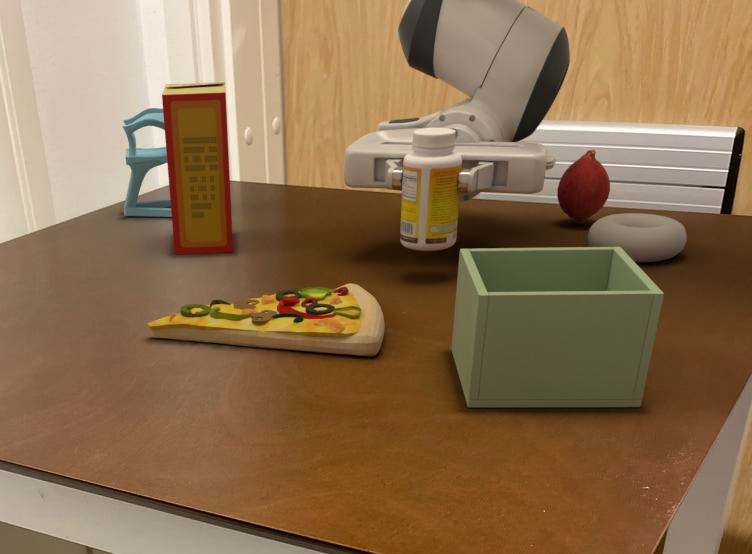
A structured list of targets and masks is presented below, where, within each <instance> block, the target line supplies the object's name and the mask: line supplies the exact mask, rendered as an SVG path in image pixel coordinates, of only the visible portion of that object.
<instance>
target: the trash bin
mask: <svg viewBox="0 0 752 554" xmlns="http://www.w3.org/2000/svg"><path fill="white" fill-rule="evenodd" d="M458 255H459V256H458V265H457V266H458V267H457V279H456V291H455V302H454V315H453V324H452V325H453V326H452V337H451V353H452V356H453V360H454V364H455V367H456V371H457V375H458V378H459V382H460V385H461V388H462V391H463V395H464V400H465V402H466V406H467V408H468V409H470V408H472V409H475V408H476V409H477V408H478V409H479V408H480V409H481V408H483V409H485V408H486V409H487V408H488V409H489V408H493V409H494V408H499V409H500V408H505V409H506V408H508V409H509V408H512V409H513V408H515V409H516V408H519V409H521V408H641V406H642V402H643V401H642V400H643V397H644V392H645V388H646V382H647V378H648V374H649V373H648V372H649V369H650V363H651V358H652V353H653V348H654V343H655V339H656V336H657V335H656V334H657V329H658V325H659V321H660V320H659V319H660V316H661V310H662V306H663V302H664V301H663V300H664V296H665V293H664V292H663V291H662V289H660V287H659V286H658V285H657V284H656V283H655V282H654V281H653V280H652V279H651V278H650V277H649V276H648V274H646V272H645V271H643V269H642V268H641V267H640V266H639V265H638V264H637V262H634V261H633V260H632V259H631V258H630V257H629V256H628V255H627V253H626V252H625V251H624V250H623V249H622V248H621V247H589V246H575V247H571V246H570V247H495V248H491V247H490V248H489V247H488V248H487V247H485V248H484V247H483V248H460V249H459V254H458Z"/></svg>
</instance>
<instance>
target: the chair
mask: <svg viewBox="0 0 752 554" xmlns="http://www.w3.org/2000/svg"><path fill="white" fill-rule="evenodd" d="M122 122H123V123H124V125H122V128H123V131H124V133H125V135H126V138H127V143H128V148H126V149H125V165H126V166H129V168H130V177H129V182H128V187H127V192H126V196H125V199H124V205H123V207H124V209H123V212H124V213H123V216H124V217H159V218H161V217H162V218H163V217H164V218H172V213H171V201H170V198H163V199H154V200H146V201H138V198H139V195H140V191H141V187H142V185H143V182H144V179H145V177H146V175H147V173H148V172H149V171H150V170H152V169H155V168H157V167H159V166H162V165H165V164H167V152H166V146H162V147H154V148H153V147H152V148H151V147H150V148H143V147H141V148H139V147H137V140H136V135H135V133H136V131H138V130H140V129H143V128H144V127H155V128H159V129H161V130H163V131H165V127H164V115H163V108H160V107H150V108H149V107H148V108H146V109H144V110H142V111H140V112H139V113H137V114H136V115H134V116H132V117H130V118H127V119H123V120H122ZM134 132H135V133H134Z"/></svg>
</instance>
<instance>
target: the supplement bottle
mask: <svg viewBox="0 0 752 554" xmlns="http://www.w3.org/2000/svg"><path fill="white" fill-rule="evenodd" d="M455 134H456V132H455V130H453V129H448V128H422V129H417V130H415V131H414V132H413V142H412V145H413V146H412V149H413V150H414V152H411V153H408V154H407V155H406V156H405V157H404V160H403V180H402V191H401V207H400V208H401V209H400V230H399V231H400V235H399V238H400V239H399V240H400V244H401V245H402V246H403V247H404V248H406V249H410V250H414V251H423V252H434V251H442V250H446V249H449V248H452V246H454V245H455V243H456V241H457V237H458V236H457V235H458V223H459V210H460V209H459V207H460V203H459V197H460V192H458V184H459V183H460V182H459V181H458V176H459V172H460V171H461V169H462V157H461V155H460V154H459V153H457V152H455V151H452V150H453V149H454V148H455Z"/></svg>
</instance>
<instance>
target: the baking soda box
mask: <svg viewBox="0 0 752 554" xmlns="http://www.w3.org/2000/svg"><path fill="white" fill-rule="evenodd" d="M226 93H227V91H226V82H224V81H223V82H220V81H219V82H198V83H197V82H196V83H195V82H193V83H169V84H168V83H166V84H165V85H164V88H163V91H162V94H161V102H162V109H163V115H164V127H165V130H164V138H165V147H166V152H167V163H166V164H167V174H168V186H169V187H168V188H169V199H170V201H171V207H170V208H171V213H172V217H171V224H172V234H173V235H172V236H173V251H174V255H202V254H224V253H225V254H226V253H234V242H233V241H234V240H233V239H234V238H233V221H232V219H233V217H232V199H231V196H232V195H231V182H230V181H231V177H230V175H231V174H230V157H229V156H230V155H229V135H228V133H229V132H228V116H227V115H228V114H227V94H226Z"/></svg>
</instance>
